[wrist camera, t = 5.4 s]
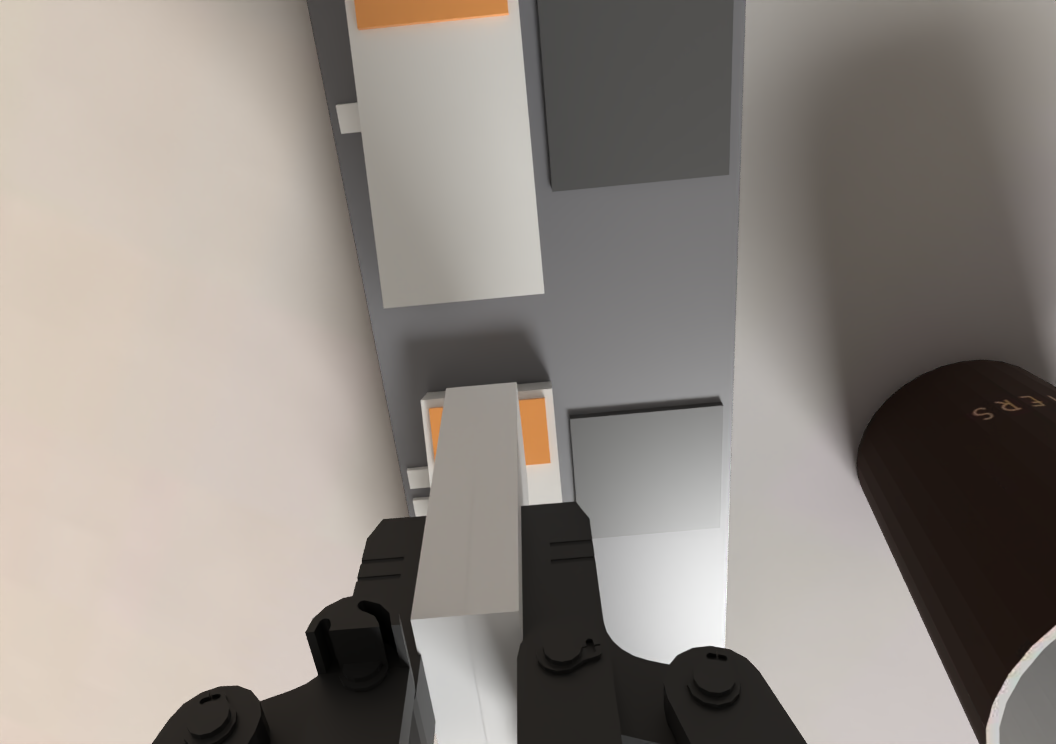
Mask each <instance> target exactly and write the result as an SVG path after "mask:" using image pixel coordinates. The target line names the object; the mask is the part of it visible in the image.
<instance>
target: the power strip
mask: <svg viewBox="0 0 1056 744" xmlns="http://www.w3.org/2000/svg"><path fill="white" fill-rule="evenodd" d="M518 3H519V14H520V26H521V37H522V48H523V59H524V70H525V81H526V92H527V104H528V115H529V126H530V137H531V148H532V159H533V170H534V182H535V193H536V204H537V215H538V226H539V237H540V248H541V260H542V271H543V282H544V293H545V294H534V295H524V296H513V297H502V298H492V299H481V300H470V301H459V302H449V303H438V304H427V305H416V306H406V307H395V308H384V307H383V299H382V291H381V283H380V275H379V267H378V260H377V252H376V244H375V236H374V228H373V220H372V212H371V204H370V196H369V188H368V181H367V173H366V165H365V157H364V149H363V141H362V133H361V125H360V117H359V109H358V102H357V94H356V86H355V78H354V70H353V62H352V54H351V46H350V38H349V31H348V23H347V15H346V7H345V0H307V4H308V9H309V14H310V19H311V24H312V29H313V34H314V39H315V44H316V49H317V54H318V59H319V64H320V69H321V74H322V79H323V84H324V90H325V95H326V100H327V105H328V110H329V115H330V120H331V125H332V130H333V135H334V140H335V145H336V150H337V155H338V160H339V165H340V170H341V175H342V180H343V185H344V190H345V195H346V200H347V205H348V210H349V215H350V220H351V225H352V230H353V235H354V240H355V245H356V250H357V255H358V260H359V265H360V270H361V275H362V280H363V285H364V290H365V295H366V300H367V305H368V310H369V315H370V320H371V325H372V330H373V335H374V340H375V345H376V350H377V355H378V361H379V366H380V371H381V376H382V381H383V386H384V391H385V396H386V401H387V406H388V411H389V416H390V421H391V426H392V431H393V436H394V441H395V446H396V451H397V456H398V461H399V466H400V471H401V476H402V481H403V486H404V491H405V496H406V501H407V506H408V511H409V516H410V517H417V516H427V509H428V503H429V496H430V490H431V488H430V479H429V471H428V462H427V453H426V444H425V435H424V426H423V418H422V409H421V399H422V398H423V397H424V396H425V395H426V393H427V392H438V391H446V388H454V387H465V386H477V385H488V384H499V383H511V382H517V384H526V383H537V382H548V381H551V383H552V392H553V403H554V414H555V426H556V437H557V448H558V459H559V470H560V481H561V492H562V502H574V501H576V502H577V504H578V505H579V506H580V507H581V509H582V510H583V511H584V512H585V514H586V515H587V516H588V517H589V519H590V526H591V533H592V541H593V547H594V555H595V562H596V569H597V577H598V584H599V591H600V599H601V606H602V613H603V620H604V624H605V628H606V631H607V633H608V634H609V636H610V637H611V639H612V640H613V641H614V642H615V643H616V644H617V645H618V646H619V647H620V648H621V649H623V650H624V651H626V652H628V653H630V654H632V655H634V656H636V657H639V658H643V659H646V660H650V661H655V662H660V663H665V664H670V663H671V662H672V661H673V659H674V658H675V657H676V656H677V655H678V654H681V653H683V652H685V651H687V650H689V649H691V648H695V647H704V646H715V647H720V648H725V632H726V601H727V570H728V539H729V507H730V476H731V445H732V414H733V382H734V351H735V320H736V289H737V258H738V226H739V195H740V164H741V133H742V101H743V70H744V39H745V8H746V0H518Z"/></svg>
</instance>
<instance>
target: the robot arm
mask: <svg viewBox="0 0 1056 744" xmlns="http://www.w3.org/2000/svg"><path fill="white" fill-rule="evenodd" d="M357 578H358V582H356V585H355V589H354V593H353V596H351V597H347V598H342V599H341V600H339V601H337V602H335V603H333V604H331V605H329V606H327V607H325V608H324V609H323V610H322V611H321V612H320V613H319V614H318V615H317V616H315V617H314V618H313V620H312V621H311V623H310V625H309V627H308V629H307V630H306V632H305V633H306V636H307V640H308V643H309V646H310V649H311V653H312V656H313V659H314V662H315V666H316V669H317V672H318V676H317V677H316V678H314V679H313V680H311V681H310V682H308V683H307V684H305V685H302V686H300V687H298V688H296V689H293V690H291V691H288V692H285V693H283V694H280V695H277V696H274V697H271V698H268V699H265V700H263V701H259V700H258V698H257V697H256V696H255V695H254V693H253V692H252V691H251V690H248V689H245V688H242V687H240V686H220V687H217V688H214V689H211V690H208V691H205V692H202V693H200V694H199V695H197V696H195V697H194V698H192V699H191V700H189V701H188V702H186V703H185V704H183V705H182V706H181V707H180V708H179V709H178V710H177V712H176V713H175V714H174V715H173V716H172V717H171V718H170V719H169V720H168V722H167V723H166V724H165V726H164V727H163V729H162V730H161V732H160V733H159V734H158V736H157V737H156V739H155V740H154V741H153V743H152V744H433V743H434V733H435V734H436V739H437V743H438V744H807V743H806V741H805V740H804V738H803V737H802V735H801V734H800V732H799V731H798V729H797V728H796V726H795V725H794V723H793V722H792V720H791V719H790V717H789V716H788V714H787V713H786V711H785V710H784V708H783V707H782V705H781V704H780V702H779V701H778V699H777V698H776V696H775V694H774V693H773V691H772V690H771V688H770V687H769V685H768V684H767V682H766V681H765V679H764V678H763V676H762V675H761V673H760V672H759V671H758V670H757V669H756V667H755V666H754V665H753V664H752V663H751V662H750V661H749V660H748V659H747V658H745V657H743V656H741V655H739V654H738V653H736V652H734V651H732V650H730V649H725V648H720V647H715V646H704V647H695V648H691V649H689V650H687V651H685V652H683V653H681V654H678V655H677V656H676V657H675V658H674V659H673V661H672V662H671V663H670V664H665V663H660V662H655V661H650V660H646V659H643V658H639V657H636V656H634V655H632V654H630V653H628V652H626V651H624V650H623V649H621V648H620V647H619V646H618V645H617V644H616V643H615V642H614V641H613V640H612V639H611V637H610V636H609V634H608V633H607V631H606V628H605V624H604V620H603V613H602V606H601V599H600V591H599V584H598V577H597V569H596V562H595V555H594V547H593V541H592V533H591V526H590V519H589V517H588V516H587V515H586V514H585V512H584V511H583V510H582V509H581V507H580V506H579V505H578V504H577V502H576V501H574V502H562V503H550V504H538V505H529V495H528V480H527V471H526V462H525V453H524V444H523V435H522V426H521V417H520V408H519V399H518V390H517V382H511V383H499V384H488V385H477V386H465V387H454V388H446V392H445V399H444V405H443V412H442V418H441V425H440V431H439V438H438V444H437V451H436V457H435V464H434V470H433V477H432V483H431V490H430V496H429V503H428V509H427V516H417V517H405V518H393V519H383V520H382V521H381V522H380V524H379V525H378V526H377V527H376V529H375V530H374V531H373V532H372V534H371V535H370V536H369V537H368V538H367V541H366V545H365V549H364V553H363V557H362V564H361V565H360V569H359V573H358V577H357Z"/></svg>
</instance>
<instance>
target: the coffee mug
mask: <svg viewBox="0 0 1056 744" xmlns="http://www.w3.org/2000/svg"><path fill="white" fill-rule="evenodd" d="M857 470H858V478H859V481H860V484H861V486H862V489H863V491H864V494H865V496H866V498H867V500H868V502H869V505H870V507H871V509H872V511H873V513H874V515H875V518H876V520H877V522H878V524H879V526H880V529H881V531H882V533H883V535H884V537H885V539H886V542H887V544H888V546H889V548H890V550H891V552H892V555H893V557H894V559H895V561H896V563H897V566H898V568H899V570H900V572H901V574H902V576H903V579H904V581H905V583H906V585H907V587H908V589H909V592H910V594H911V596H912V598H913V600H914V603H915V605H916V607H917V609H918V611H919V613H920V616H921V618H922V620H923V622H924V624H925V627H926V629H927V631H928V633H929V635H930V637H931V640H932V642H933V644H934V646H935V648H936V650H937V653H938V655H939V657H940V659H941V661H942V664H943V666H944V668H945V670H946V672H947V674H948V677H949V679H950V681H951V683H952V685H953V687H954V690H955V692H956V694H957V696H958V698H959V701H960V703H961V705H962V707H963V709H964V711H965V714H966V716H967V718H968V720H969V722H970V724H971V727H972V729H973V731H974V733H975V735H976V738H977V740H978V742H979V744H1056V387H1055V386H1053V385H1051V384H1049V383H1048V382H1046V381H1044V380H1042V379H1040V378H1038V377H1037V376H1035V375H1033V374H1031V373H1029V372H1027V371H1026V370H1024V369H1022V368H1020V367H1018V366H1014V365H1011V364H1008V363H1005V362H1000V361H990V360H974V361H962V362H958V363H954V364H950V365H946V366H942V367H940V368H937V369H935V370H932V371H930V372H928V373H925V374H923V375H921V376H919V377H918V378H916V379H914V380H913V381H911V382H909V383H908V384H906V385H904V386H903V387H902V388H901V389H899V390H898V391H897V392H896V393H895V394H893V395H892V396H891V397H890V398H889V399H888V400H887V401H886V402H885V403H884V404H883V405H882V406H881V408H880V409H879V410H878V411H877V412H876V413H875V415H874V416H873V418H872V419H871V421H870V423H869V424H868V426H867V428H866V429H865V431H864V434H863V437H862V440H861V443H860V445H859V450H858V457H857Z"/></svg>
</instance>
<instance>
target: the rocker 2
mask: <svg viewBox="0 0 1056 744" xmlns="http://www.w3.org/2000/svg"><path fill="white" fill-rule="evenodd" d="M517 390H518V399H519V408H520V417H521V426H522V435H523V444H524V453H525V462H526V471H527V480H528V495H529V505H538V504H550V503H562V492H561V481H560V470H559V459H558V448H557V437H556V426H555V414H554V403H553V392H552V383H551V381H548V382H537V383H526V384H517ZM445 392H446V391H438V392H427V393H426V395H425V396H424V397H423V398H422V399H421V409H422V418H423V426H424V435H425V444H426V453H427V462H428V471H429V479H430V488H431V483H432V477H433V470H434V464H435V457H436V451H437V444H438V438H439V431H440V425H441V418H442V412H443V405H444V399H445Z"/></svg>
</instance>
